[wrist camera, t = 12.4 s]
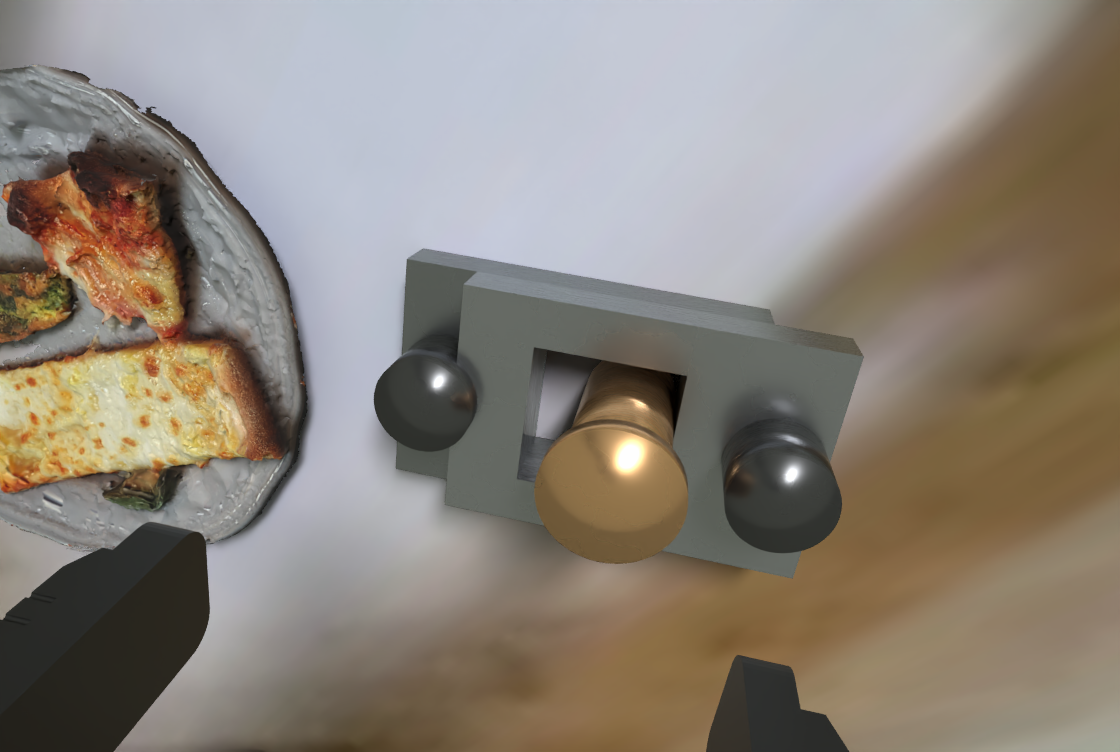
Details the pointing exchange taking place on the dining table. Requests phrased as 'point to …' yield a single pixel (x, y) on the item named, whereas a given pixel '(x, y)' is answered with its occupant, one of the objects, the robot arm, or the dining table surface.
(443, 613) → the dining table surface
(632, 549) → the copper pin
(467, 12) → the dining table surface
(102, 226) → the food plate
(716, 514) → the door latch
